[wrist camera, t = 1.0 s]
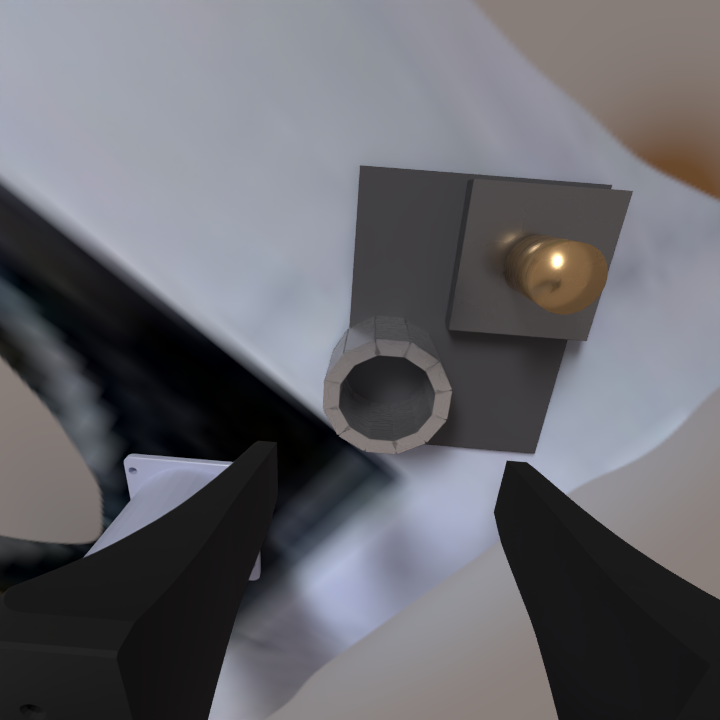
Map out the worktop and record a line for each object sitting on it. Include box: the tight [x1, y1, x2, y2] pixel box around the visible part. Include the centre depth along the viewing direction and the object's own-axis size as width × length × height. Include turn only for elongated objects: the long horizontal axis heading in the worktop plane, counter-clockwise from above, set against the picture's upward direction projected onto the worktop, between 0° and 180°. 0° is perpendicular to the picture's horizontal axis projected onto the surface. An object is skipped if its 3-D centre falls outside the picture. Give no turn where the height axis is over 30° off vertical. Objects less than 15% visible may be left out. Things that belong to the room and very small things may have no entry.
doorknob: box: [445, 179, 633, 341], centre depth 16 cm, size 6×6×5 cm
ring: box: [323, 316, 452, 454], centre depth 19 cm, size 6×6×4 cm
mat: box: [346, 166, 612, 453], centre depth 20 cm, size 14×11×1 cm
